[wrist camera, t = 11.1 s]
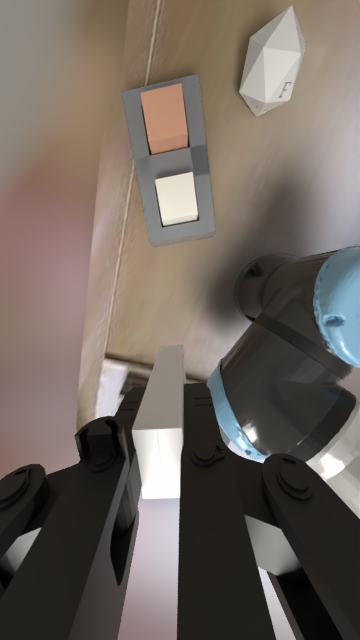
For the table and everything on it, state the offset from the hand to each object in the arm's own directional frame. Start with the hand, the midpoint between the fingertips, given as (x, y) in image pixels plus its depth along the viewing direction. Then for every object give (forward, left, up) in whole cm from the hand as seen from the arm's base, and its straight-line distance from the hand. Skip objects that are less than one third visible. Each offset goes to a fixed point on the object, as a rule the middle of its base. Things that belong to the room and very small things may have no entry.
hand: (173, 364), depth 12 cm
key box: (-2, -24, -28) cm, 37 cm away
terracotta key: (-2, -29, -26) cm, 39 cm away
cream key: (-2, -18, -26) cm, 32 cm away
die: (-19, -34, -28) cm, 48 cm away
